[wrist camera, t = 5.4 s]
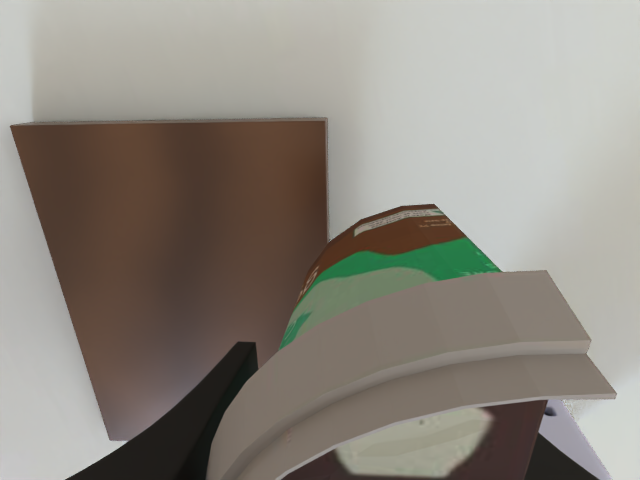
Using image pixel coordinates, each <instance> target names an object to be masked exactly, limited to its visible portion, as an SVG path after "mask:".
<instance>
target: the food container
mask: <svg viewBox="0 0 640 480" xmlns="http://www.w3.org/2000/svg"><path fill="white" fill-rule="evenodd" d="M590 343H591V339H590V337H589V336H588V334H587V333H586V331H585V330H584V328H583V327H582V325H581V323H580V322H579V320H578V319H577V317H576V316H575V314H574V313H573V311H572V309H571V308H570V306H569V305H568V303H567V302H566V300H565V299H564V297H563V295H562V294H561V292H560V291H559V289H558V288H557V286H556V285H555V283H554V281H553V280H552V278H551V277H550V275H549V274H548V272H547V271H546V270H542V271H519V272H502V271H501V270H500V269H499V268H498V267H497V266H496V265H495V264H494V263H493V262H492V261H491V260H490V259H489V258H488V257H487V256H486V255H485V254H484V253H483V252H482V251H481V250H480V249H479V248H478V247H477V246H476V245H475V244H474V243H473V242H472V241H471V240H470V239H469V238H468V237H467V236H466V235H465V234H464V233H463V232H462V231H461V230H460V229H459V228H458V227H457V226H456V225H455V224H454V223H453V222H452V221H451V220H450V219H449V218H448V217H447V216H446V215H445V214H444V213H443V212H442V211H441V210H440V209H439V208H438V207H437V206H436V205H435V204H425V205H409V206H400V207H397V208H394V209H391V210H388V211H385V212H382V213H379V214H376V215H373V216H370V217H367V218H364V219H361V220H360V221H358V222H357V223H355V224H354V225H352V226H351V227H350V228H348V229H347V230H345V231H344V232H342V233H341V234H340V235H338V236H337V237H335V238H334V239H332V240H331V241H330V242H329V243H328V244H327V245H326V247H325V248H324V249H323V251H322V252H321V254H320V255H319V256H318V258H317V259H316V260H315V262H314V263H313V264H312V266H311V267H310V268H309V270H308V272H307V275H306V278H305V280H304V283H303V286H302V288H301V291H300V294H299V296H298V299H297V302H296V304H295V307H294V310H293V312H292V315H291V318H290V321H289V323H288V326H287V329H286V331H285V334H284V337H283V339H282V342H281V345H280V347H279V350H278V352H277V353H276V354H275V355H274V356H273V357H271V358H270V359H269V360H268V361H267V362H266V363H265V364H264V365H263V366H262V367H261V368H260V369H259V370H258V371H257V372H256V373H255V374H254V375H253V376H252V377H251V378H250V379H248V380H247V381H246V383H245V384H244V386H243V387H242V388H241V390H240V391H239V393H238V394H237V396H236V397H235V398H234V400H233V401H232V403H231V404H230V405H229V407H228V408H227V410H226V411H225V413H224V415H223V417H222V420H221V422H220V424H219V427H218V429H217V431H216V434H215V436H214V438H213V441H212V443H211V449H210V455H209V461H208V466H207V472H206V479H205V480H524V479H525V475H526V472H527V469H528V465H529V462H530V459H531V455H532V452H533V449H534V445H535V442H536V438H537V435H538V432H539V428H540V425H541V422H542V418H543V415H544V412H545V409H546V406H547V403H548V400H580V399H615V398H616V395H617V393H616V392H615V390H614V389H613V388H612V386H611V385H610V384H609V383H608V381H607V380H606V379H605V377H604V376H603V375H602V374H601V372H600V371H599V370H598V368H597V367H596V366H595V365H594V363H593V362H592V361H591V359H590V358H589V357H588V356H587V354H586V353H587V351H588V349H589V346H590Z"/></svg>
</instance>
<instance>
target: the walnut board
mask: <svg viewBox="0 0 640 480" xmlns="http://www.w3.org/2000/svg"><path fill="white" fill-rule="evenodd" d="M10 128H11V131H12V134H13V137H14V141H15V144H16V147H17V150H18V153H19V156H20V159H21V163H22V166H23V169H24V172H25V175H26V178H27V181H28V185H29V188H30V191H31V194H32V197H33V200H34V203H35V207H36V210H37V213H38V216H39V219H40V222H41V226H42V229H43V232H44V235H45V238H46V241H47V244H48V248H49V251H50V254H51V257H52V260H53V263H54V266H55V270H56V273H57V276H58V279H59V282H60V285H61V288H62V292H63V295H64V298H65V301H66V304H67V307H68V310H69V314H70V317H71V320H72V323H73V326H74V329H75V332H76V336H77V339H78V342H79V345H80V348H81V351H82V355H83V358H84V361H85V364H86V367H87V370H88V373H89V377H90V380H91V383H92V386H93V389H94V392H95V395H96V399H97V402H98V405H99V408H100V411H101V414H102V417H103V421H104V424H105V427H106V430H107V433H108V436H109V439H110V441H130V440H131V439H133V438H134V437H136V436H137V435H138V434H140V433H141V432H143V431H144V430H146V429H147V428H148V427H150V426H151V425H152V424H154V423H155V422H156V421H157V420H159V419H160V418H161V417H162V416H163V415H165V414H166V413H167V412H168V411H169V410H171V409H172V408H173V407H174V406H175V405H176V404H177V403H178V402H180V401H181V400H182V399H183V398H184V397H185V396H186V395H187V394H188V393H189V392H190V391H191V390H192V389H193V388H194V387H195V386H197V385H198V384H199V382H200V381H201V380H202V379H203V378H204V377H205V376H206V375H207V374H208V373H209V372H210V371H211V370H212V369H213V368H214V367H215V366H216V365H217V364H218V363H219V361H220V360H221V359H222V358H223V357H224V356H225V355H226V354H227V353H228V351H229V350H230V349H231V348H232V347H233V346H234V345H235V344H236V343H237V342H238V341H240V342H256V349H257V360H258V370H259V369H260V368H261V367H262V366H263V365H264V364H265V363H266V362H267V361H268V360H269V359H270V358H271V357H273V356H274V355H275V354H276V353H277V352H278V350H279V347H280V345H281V342H282V339H283V337H284V334H285V331H286V329H287V326H288V323H289V321H290V318H291V315H292V312H293V310H294V307H295V304H296V302H297V299H298V296H299V294H300V291H301V288H302V286H303V283H304V280H305V278H306V275H307V272H308V270H309V268H310V267H311V266H312V264H313V263H314V262H315V260H316V259H317V258H318V256H319V255H320V254H321V252H322V251H323V249H324V248H325V247H326V245H327V244H328V243H329V187H328V119H327V118H272V119H207V120H143V121H79V122H30V123H23V124H16V125H11V126H10Z"/></svg>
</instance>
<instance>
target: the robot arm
mask: <svg viewBox="0 0 640 480" xmlns="http://www.w3.org/2000/svg"><path fill="white" fill-rule="evenodd" d="M257 371H258V360H257V349H256V342H240V341H238V342H237V343H236V344H235V345H234V346H233V347H232V348H231V349H230V350H229V351H228V353H227V354H226V355H225V356H224V357H223V358H222V359H221V360H220V361H219V363H218V364H217V365H216V366H215V367H214V368H213V369H212V370H211V371H210V372H209V373H208V374H207V375H206V376H205V377H204V378H203V379H202V380H201V381H200V382H199V384H198V385H197V386H195V387H194V388H193V389H192V390H191V391H190V392H189V393H188V394H187V395H186V396H185V397H184V398H183V399H182V400H181V401H180V402H178V403H177V404H176V405H175V406H174V407H173V408H172V409H171V410H169V411H168V412H167V413H166V414H165V415H163V416H162V417H161V418H160V419H159V420H157V421H156V422H155V423H154V424H152V425H151V426H150V427H148V428H147V429H146V430H144V431H143V432H141V433H140V434H138V435H137V436H136V437H134V438H133V439H131V440H130V441H128V442H127V443H126V444H124V445H123V446H121V447H120V448H118V449H117V450H115V451H114V452H112V453H110V454H109V455H107V456H106V457H104V458H102V459H101V460H99V461H97V462H96V463H94V464H92V465H91V466H89V467H87V468H86V469H84V470H82V471H80V472H78V473H77V474H75V475H73V476H71V477H69V478H67V479H65V480H205V479H206V472H207V466H208V461H209V455H210V449H211V443H212V441H213V438H214V436H215V434H216V431H217V429H218V427H219V424H220V422H221V420H222V417H223V415H224V413H225V411H226V410H227V408H228V407H229V405H230V404H231V403H232V401H233V400H234V398H235V397H236V396H237V394H238V393H239V391H240V390H241V388H242V387H243V386H244V384H245V383H246V381H247V380H248V379H250V378H251V377H252V376H253V375H254V374H255V373H256V372H257ZM524 480H612V478H611V476H610V475H609V473H608V471H607V470H606V468H605V467H604V465H603V464H602V462H601V460H600V459H599V457H598V456H597V454H596V453H595V451H594V450H593V448H592V447H591V445H590V443H589V442H588V440H587V439H586V437H585V436H584V434H583V433H582V431H581V430H580V428H579V426H578V425H577V423H576V422H575V420H574V419H573V417H572V416H571V414H570V412H569V411H568V409H567V408H566V406H565V405H564V403H563V402H562V400H548V403H547V406H546V409H545V412H544V415H543V418H542V422H541V425H540V428H539V432H538V435H537V438H536V442H535V445H534V449H533V452H532V455H531V459H530V462H529V465H528V469H527V472H526V475H525V479H524Z"/></svg>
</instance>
